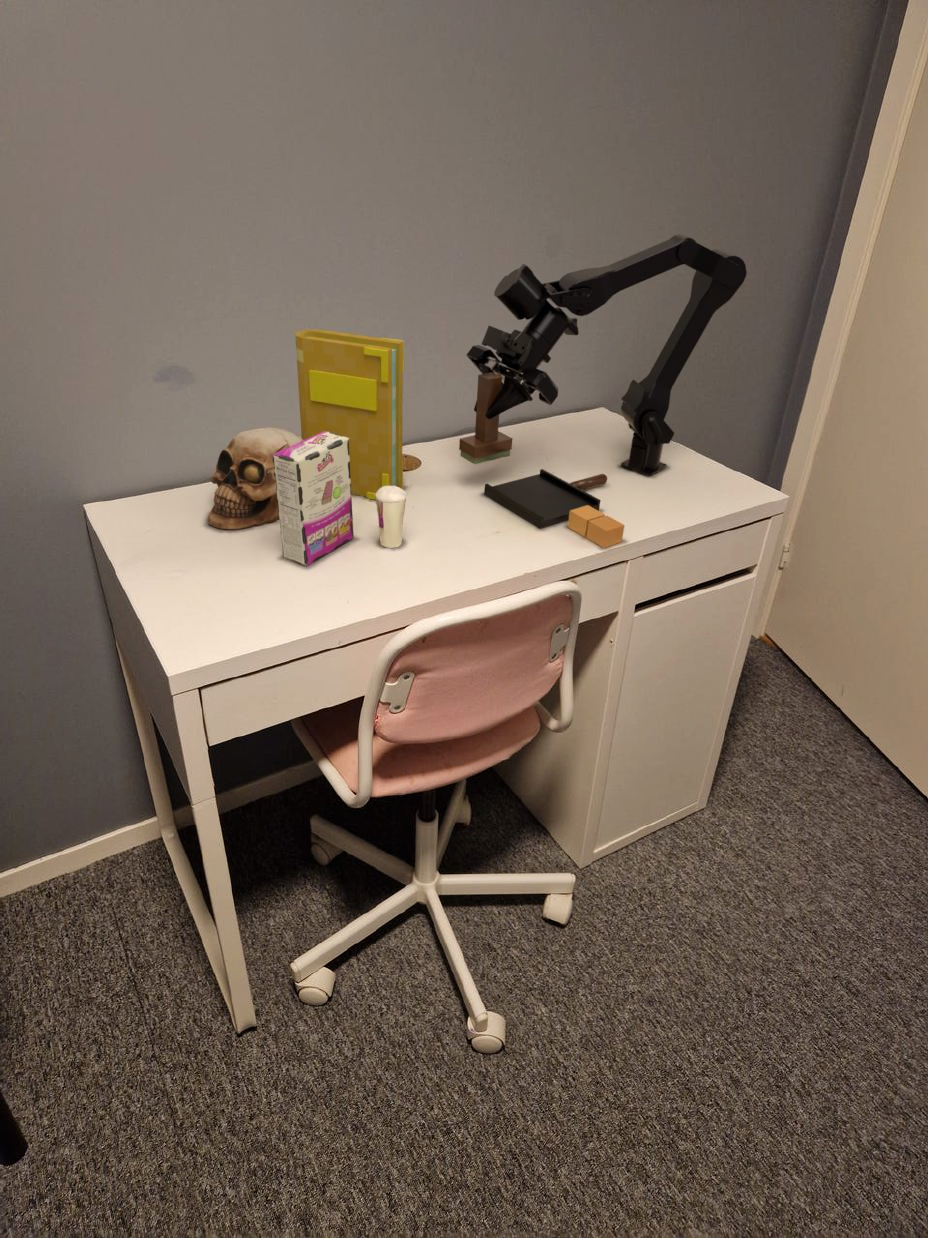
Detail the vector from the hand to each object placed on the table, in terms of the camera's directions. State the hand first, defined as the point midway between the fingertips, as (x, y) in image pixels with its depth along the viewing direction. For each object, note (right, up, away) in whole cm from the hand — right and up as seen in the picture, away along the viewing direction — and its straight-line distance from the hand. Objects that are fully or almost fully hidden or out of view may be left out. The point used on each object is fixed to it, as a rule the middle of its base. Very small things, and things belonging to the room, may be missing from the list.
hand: (481, 414), depth 142 cm
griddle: (+14, -13, +5) cm, 20 cm away
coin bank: (-36, -16, -3) cm, 39 cm away
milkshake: (-14, -23, -12) cm, 29 cm away
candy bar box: (-25, -24, -14) cm, 37 cm away
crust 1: (+17, -20, -5) cm, 26 cm away
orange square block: (+19, -22, -8) cm, 30 cm away
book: (-22, -11, +5) cm, 26 cm away
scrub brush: (+1, -6, +5) cm, 8 cm away
